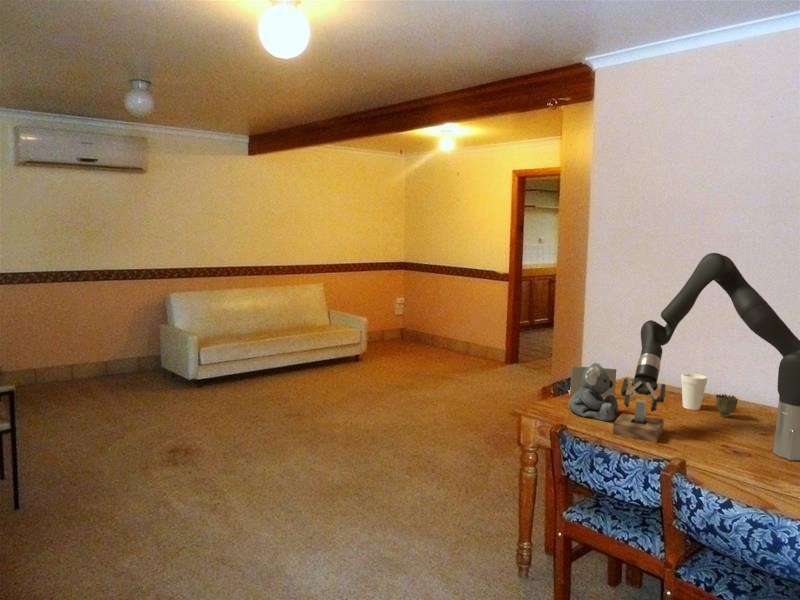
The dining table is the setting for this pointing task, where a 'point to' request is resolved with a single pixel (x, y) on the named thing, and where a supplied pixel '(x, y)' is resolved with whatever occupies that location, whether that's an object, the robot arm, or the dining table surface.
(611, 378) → the grey box
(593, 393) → the koala plush
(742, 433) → the dining table surface
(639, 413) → the blue-grey rectangular block
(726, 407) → the cup
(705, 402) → the dining table surface
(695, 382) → the foam cup
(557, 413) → the dining table surface
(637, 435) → the flat wooden box
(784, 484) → the dining table surface
